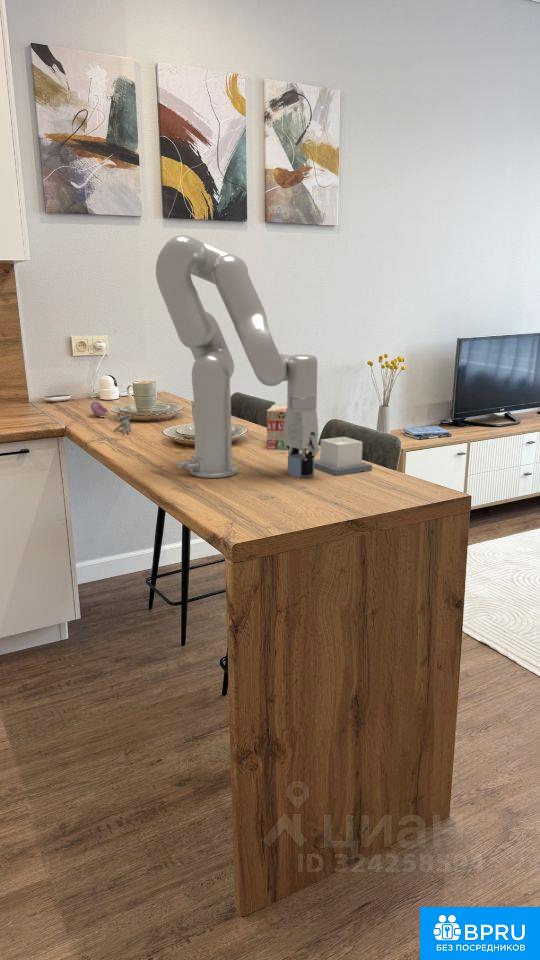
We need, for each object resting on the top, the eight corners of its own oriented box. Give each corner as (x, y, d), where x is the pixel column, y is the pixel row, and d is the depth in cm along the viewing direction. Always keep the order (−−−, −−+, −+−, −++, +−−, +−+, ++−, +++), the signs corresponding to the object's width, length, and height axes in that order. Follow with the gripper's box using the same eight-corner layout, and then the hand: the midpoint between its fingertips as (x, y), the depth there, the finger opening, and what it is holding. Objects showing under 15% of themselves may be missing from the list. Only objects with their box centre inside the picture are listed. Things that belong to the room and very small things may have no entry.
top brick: (297, 477, 180) (298, 458, 179) (287, 473, 184) (287, 455, 183) (314, 475, 183) (314, 456, 182) (303, 471, 187) (303, 453, 186)
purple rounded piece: (99, 418, 276) (90, 402, 274) (109, 412, 276) (100, 397, 274) (96, 422, 267) (86, 406, 265) (106, 417, 266) (97, 400, 264)
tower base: (335, 475, 182) (336, 447, 180) (309, 466, 192) (310, 439, 190) (371, 470, 188) (373, 442, 186) (345, 461, 198) (345, 434, 196)
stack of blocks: (277, 436, 234) (278, 399, 231) (296, 437, 233) (296, 400, 230) (266, 449, 214) (266, 409, 211) (286, 450, 213) (287, 410, 210)
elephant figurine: (109, 436, 234) (107, 422, 241) (122, 446, 238) (119, 432, 245) (131, 417, 232) (129, 404, 239) (144, 428, 236) (141, 415, 243)
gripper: (272, 400, 184) (272, 467, 189) (308, 409, 170) (307, 481, 175) (296, 398, 188) (295, 464, 192) (333, 407, 174) (331, 477, 178)
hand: (300, 471), depth 183 cm, fingers closed on top brick, 5 cm apart
